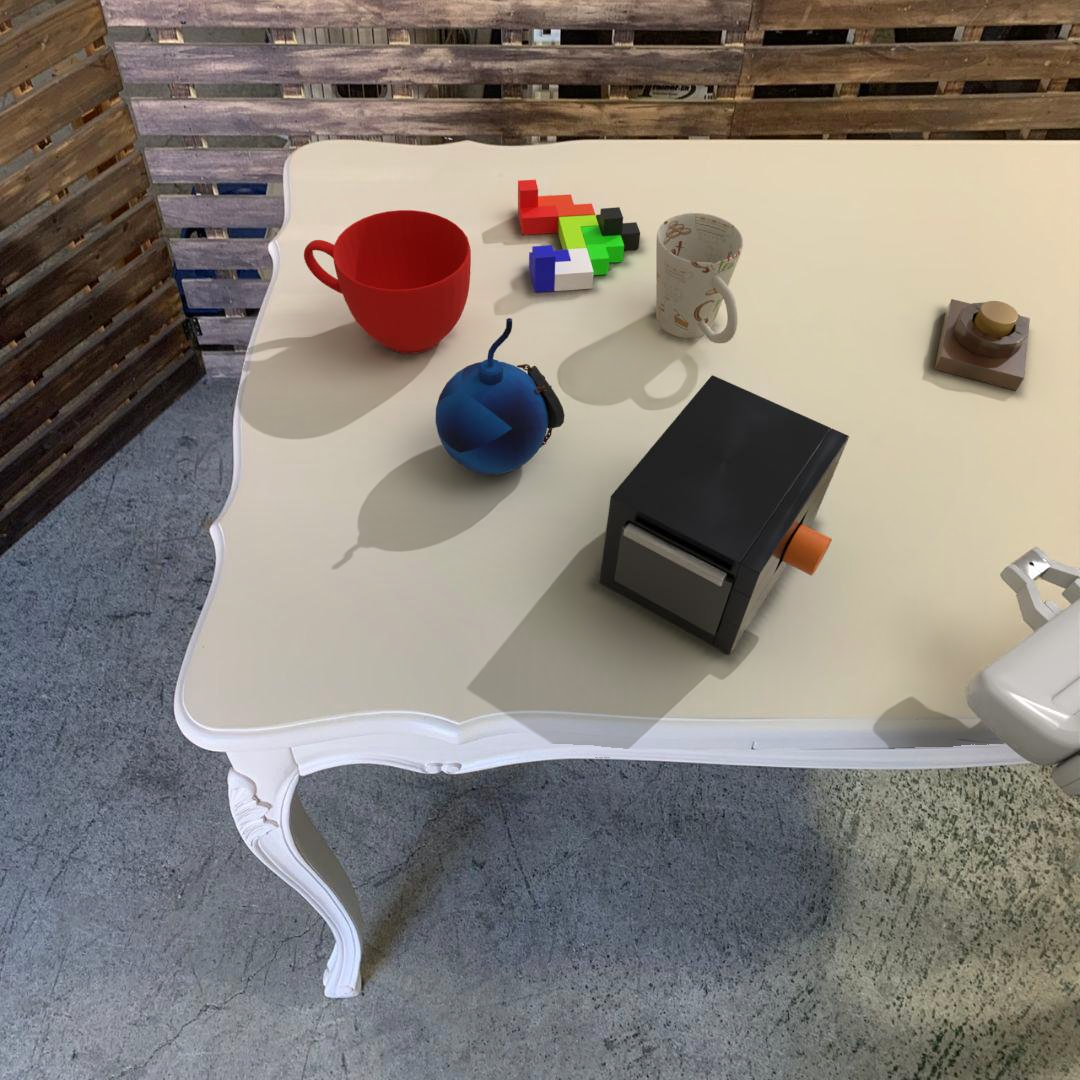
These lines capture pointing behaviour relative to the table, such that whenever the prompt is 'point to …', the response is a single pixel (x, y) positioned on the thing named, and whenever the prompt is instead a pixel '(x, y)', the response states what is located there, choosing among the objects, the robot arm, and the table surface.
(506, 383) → the bomb
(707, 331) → the mug
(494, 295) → the table surface
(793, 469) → the oven
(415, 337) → the ceramic cup
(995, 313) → the button
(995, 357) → the button block
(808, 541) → the oven button
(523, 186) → the building blocks
